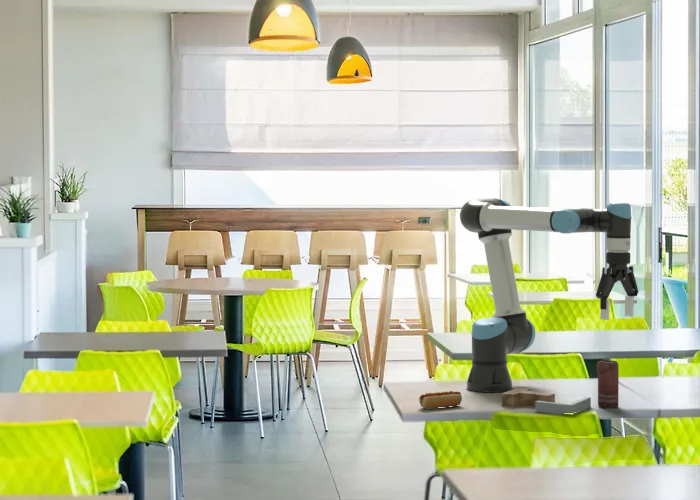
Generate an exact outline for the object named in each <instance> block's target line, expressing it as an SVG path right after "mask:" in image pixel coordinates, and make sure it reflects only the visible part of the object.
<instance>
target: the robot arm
mask: <svg viewBox="0 0 700 500" xmlns="http://www.w3.org/2000/svg"><path fill="white" fill-rule="evenodd" d="M459 219H460V223H461V224H462V226H463V227H464V229H466V230H467V231H469V232H471V233H476V234H477V236H478V240H479V241H480V243H483V246H484V251H485V257H486V263H487V269H488V275H489V280H490V286H491V287H490V288H491V292H492V293H491V294H492V298H493V303H494V311H495V312H494V314H493V315H492V316H491V317H487V318H486V317H484V318H480V319H477V320H475V321H474V322H473V323H472V327H471V332H470V333H471V334H470V335H471V368H470V370H469V375H468V378H467V380H466V389H467V390H468V391H469V390H470V391H474V392H477V393H478V392H479V393H500V392H501V393H505V392H508V391H510V390H513V381H512V378H511V375H510V372H509V368H508V355H511V354H521V353H523V352H525V351H527V350H529V349H530V348H531V346H532V345H533V344H534V342H535V339H536V328H535V326H534V324H533V322H531V321H530V320H529V319H528V318H527V313H526V311H525V310H524V309H523V308H521V303H520V299H519V298H520V297H519V293H518V287H517V282H516V276H515V270H514V264H513V259H512V257H513V256H512V251H511V247H510V241H509V240H510V237H512V235H513V232H512V230H517V231H533V232H549V233H550V232H551V233H552V232H553V233H560V234H573V233H575V234H576V233H606V242H605V243H606V244H605V246H606V247H605V250H606V251H607V252H606V253H605V264H608V267H605V266H603V267H602V270H601V271H602V272H601V277H600V279H599V282H598V286H597V290H596V292H595V297H596V298H597V299H600V302H599V303H600V315H599V316H600V320H604V321H608V320H610V298H609V296H610V294H611V292H612V290H613V288H614V286H615V284H616V283H617V282H620V283H621V285H622V287H623V290H624V292H625V294H626V295H624V317H632V318H633V317H634V312H635V311H634V304H635V297H637V296H638V294H639V287H638V284H637V280H636V277H635V274H634V266H633V265H629V264H631V252H629V251H631V244H632V242H631V240H632V239H631V237H632V236H631V233H632V230H631V229H632V206H631V204H630V203H627V202H609V203H607V205H606V208H586V207H585V208H583V207H582V208H553V207H552V208H550V207H527V206H512V205H511V204H510V202H508V201H506V200H504V199H501V198H495V197H494V198H474V199H473V198H472V199H471V200H468V201H467V202H465V203H464V204H463V205H462V207H461V209H460V212H459Z"/></svg>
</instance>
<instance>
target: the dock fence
mask: <svg viewBox="0 0 700 500" xmlns="http://www.w3.org/2000/svg"><path fill="white" fill-rule="evenodd" d="M591 400H592V397H591V396H586V397H583V398H580V399H577V400H575V401H573V402H570V403H563V402H562V403H561V402H555V403H554V402H544V401H535V407H534V409H535V412H536V413H546V414H554V415H555V414H556V415H562V414H564V413H574V412H578V411H581V412H583V411H585V410H587V409H590V408H591V407H592V406H591V405H592V402H591ZM589 407H590V408H589ZM582 410H583V411H582Z"/></svg>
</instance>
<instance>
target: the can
mask: <svg viewBox="0 0 700 500" xmlns="http://www.w3.org/2000/svg"><path fill="white" fill-rule="evenodd" d="M619 369H620V368H619V363H618V361H616V360H609V359H608V360H599V361H597V364H596V372H597V406H598V408H600V407H601V409H606V408H614V409H617V408H618V407H619V381H620V380H619V371H620V370H619ZM616 407H617V408H616Z"/></svg>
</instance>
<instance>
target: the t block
mask: <svg viewBox="0 0 700 500" xmlns="http://www.w3.org/2000/svg"><path fill="white" fill-rule="evenodd" d="M535 401H544V402H554V403H556V394H555V393H552V392H542V391H541V392H540V391H532V390H531V388H527V387H525V388H524V387H516V388H512V390H509V391H504V392H501V407H504V406H505V407H504V408H517V407H519V406H521V407H531V408H535Z"/></svg>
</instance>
